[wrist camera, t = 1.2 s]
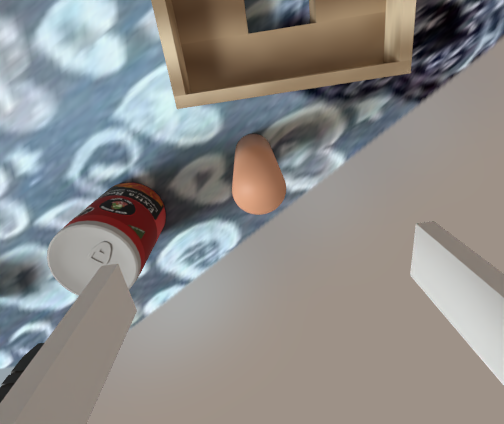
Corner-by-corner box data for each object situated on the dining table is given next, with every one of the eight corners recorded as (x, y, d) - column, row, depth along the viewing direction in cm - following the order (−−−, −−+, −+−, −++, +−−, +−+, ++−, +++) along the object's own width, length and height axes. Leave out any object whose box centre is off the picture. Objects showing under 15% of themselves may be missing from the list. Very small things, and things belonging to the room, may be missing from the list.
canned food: (174, 191, 34) (146, 238, 24) (159, 247, 37) (130, 309, 27) (106, 171, 33) (48, 212, 23) (97, 230, 36) (43, 289, 26)
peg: (232, 136, 32) (227, 168, 21) (269, 131, 32) (283, 159, 21) (238, 171, 34) (236, 217, 23) (273, 166, 33) (288, 210, 23)
